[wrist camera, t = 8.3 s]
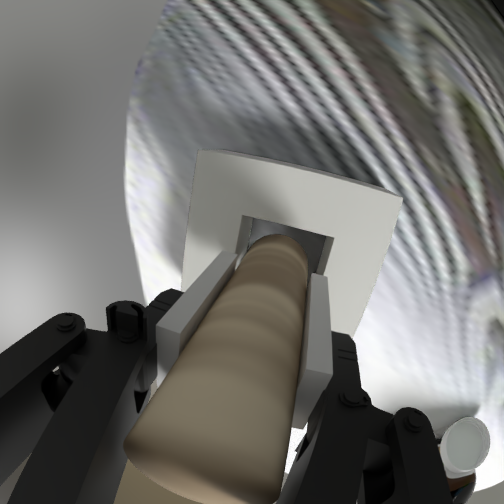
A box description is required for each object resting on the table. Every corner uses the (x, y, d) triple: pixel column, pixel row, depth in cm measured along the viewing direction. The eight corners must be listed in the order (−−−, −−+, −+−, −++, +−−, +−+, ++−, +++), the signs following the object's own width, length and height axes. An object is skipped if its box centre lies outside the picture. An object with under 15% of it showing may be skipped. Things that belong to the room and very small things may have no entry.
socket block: (221, 149, 18) (198, 149, 15) (385, 188, 17) (403, 198, 13) (199, 294, 22) (178, 321, 19) (337, 331, 21) (339, 364, 17)
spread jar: (393, 474, 27) (396, 543, 16) (390, 436, 24) (397, 526, 13) (472, 447, 23) (487, 511, 12) (486, 402, 20) (515, 480, 10)
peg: (252, 227, 16) (111, 408, 4) (315, 243, 16) (304, 470, 4) (241, 284, 18) (133, 476, 6) (299, 299, 17) (259, 517, 5)
